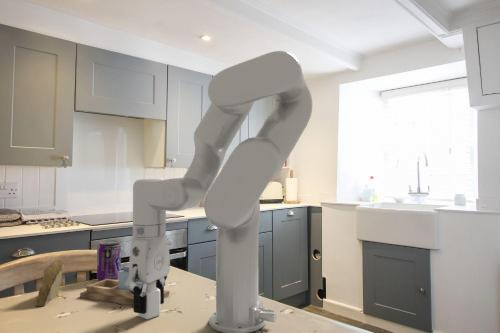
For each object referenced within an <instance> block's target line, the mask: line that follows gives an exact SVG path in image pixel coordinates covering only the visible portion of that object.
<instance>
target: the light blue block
mask: <svg viewBox="0 0 500 333" xmlns="http://www.w3.org/2000/svg"><path fill="white" fill-rule="evenodd" d="M128 277H129V264H127V265H124V266H123V269H121V271H119V272H118V279H117V280H118V289H122V290H128V291H129V289H128V288H127V287H126V286H125V282H126V280H127V279H128ZM139 281H140V280H139ZM141 285H142V284H139V285H138V287H139V288H140V289H141Z"/></svg>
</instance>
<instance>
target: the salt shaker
mask: <svg viewBox="0 0 500 333" xmlns="http://www.w3.org/2000/svg"><path fill="white" fill-rule="evenodd" d="M145 296H146V297H147V311H146V313H145V314H141V313H137V314H138V317H140V318H143V319H145V320H150V319H154V318H155V317H159V316H160V315H161V304H160V289H158V288H157V287H156V281H154V282H152V283H149V284H147V286H146V290H145Z"/></svg>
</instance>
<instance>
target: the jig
mask: <svg viewBox="0 0 500 333" xmlns="http://www.w3.org/2000/svg"><path fill="white" fill-rule="evenodd" d="M169 296H170V290H165V289H164V299H165V298H168V297H169ZM79 297H80V298H84V299H90V300H96V301H102V302H108V303H114V304H120V305H125V306H126V305H127V306H133V307H134V296H133V295H132V293H131V292H130V291H128V290H122V289H118V279H117V280H113V279H104V280H102V281H100V280H99V281H97V282H93V283H90V284H88V285H86V290H83V291H81V292H80V294H79Z"/></svg>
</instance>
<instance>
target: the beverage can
mask: <svg viewBox="0 0 500 333" xmlns="http://www.w3.org/2000/svg"><path fill="white" fill-rule="evenodd" d="M121 264H122V247H121V244H120V240H115V239H112V240H110V239H109V240H108V239H107V240H101V241H99V242H98V246H97V247H96V280H99V281H102V280H104V279H113V280H118V272H119V271H121V270H122V266H121Z"/></svg>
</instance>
